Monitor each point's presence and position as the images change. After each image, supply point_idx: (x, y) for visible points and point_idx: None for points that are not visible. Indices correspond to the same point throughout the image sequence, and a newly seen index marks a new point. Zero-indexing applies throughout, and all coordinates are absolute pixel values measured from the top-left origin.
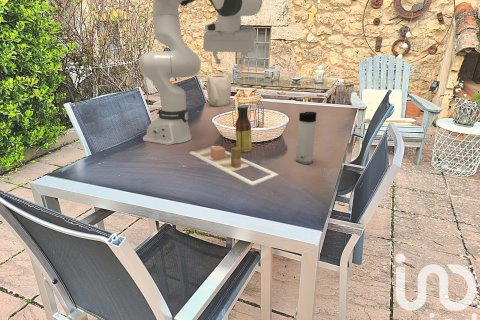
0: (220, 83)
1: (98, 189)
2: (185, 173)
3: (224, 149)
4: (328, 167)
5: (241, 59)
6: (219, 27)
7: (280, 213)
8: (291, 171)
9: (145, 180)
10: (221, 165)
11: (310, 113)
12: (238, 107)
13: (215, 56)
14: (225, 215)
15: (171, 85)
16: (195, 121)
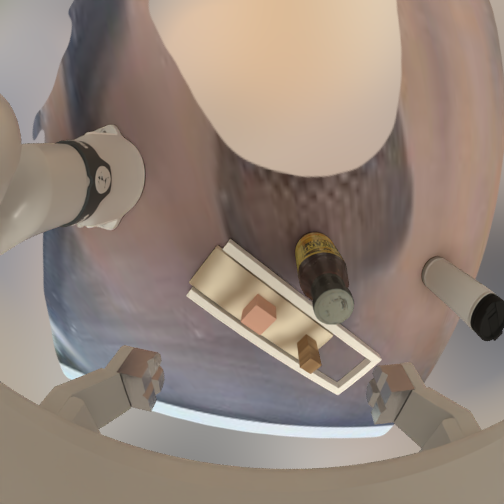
0: None
1: None
2: (215, 359)
3: (275, 318)
4: None
5: (398, 424)
6: None
7: (364, 417)
8: (405, 321)
9: (168, 381)
10: (276, 343)
11: (498, 315)
12: (318, 319)
13: (106, 422)
14: (304, 430)
15: (5, 229)
16: (118, 32)
